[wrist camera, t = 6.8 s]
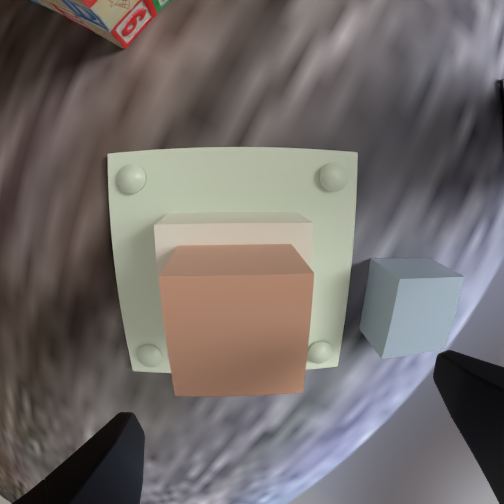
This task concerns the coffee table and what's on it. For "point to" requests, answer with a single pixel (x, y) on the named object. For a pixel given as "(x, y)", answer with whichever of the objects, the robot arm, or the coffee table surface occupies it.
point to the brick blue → (409, 305)
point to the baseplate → (230, 200)
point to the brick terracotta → (237, 319)
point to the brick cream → (230, 233)
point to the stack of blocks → (109, 16)
